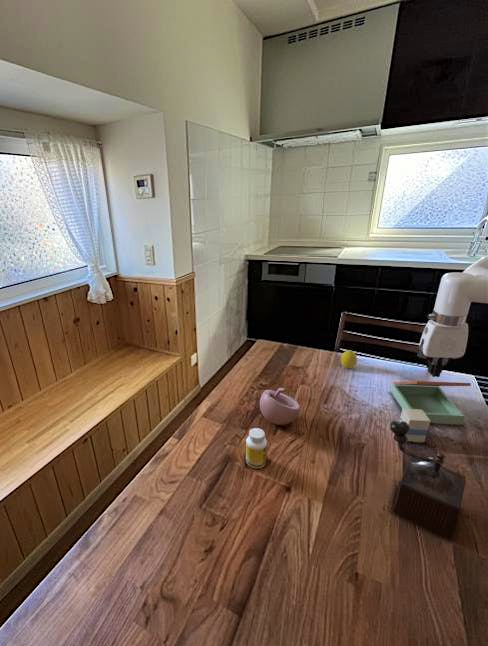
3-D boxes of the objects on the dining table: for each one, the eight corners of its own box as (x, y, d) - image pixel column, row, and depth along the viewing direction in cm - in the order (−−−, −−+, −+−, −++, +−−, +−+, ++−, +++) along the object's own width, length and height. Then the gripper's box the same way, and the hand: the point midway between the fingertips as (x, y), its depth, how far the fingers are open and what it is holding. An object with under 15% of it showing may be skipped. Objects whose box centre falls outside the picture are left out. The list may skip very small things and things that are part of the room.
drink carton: (416, 432, 97) (422, 409, 94) (424, 444, 92) (430, 421, 89) (396, 430, 98) (402, 408, 95) (403, 443, 93) (409, 420, 90)
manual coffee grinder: (456, 504, 75) (480, 442, 68) (449, 541, 68) (474, 477, 61) (380, 471, 85) (393, 414, 78) (367, 500, 78) (380, 440, 70)
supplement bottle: (266, 470, 88) (267, 441, 84) (245, 468, 89) (245, 439, 85) (266, 455, 93) (267, 426, 89) (246, 453, 94) (246, 425, 90)
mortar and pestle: (307, 424, 103) (310, 393, 98) (275, 438, 98) (277, 406, 94) (281, 404, 113) (282, 375, 108) (251, 416, 108) (252, 386, 104)
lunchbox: (461, 426, 98) (465, 416, 96) (409, 423, 100) (412, 413, 99) (435, 395, 112) (438, 386, 110) (391, 393, 114) (393, 384, 113)
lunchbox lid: (470, 385, 94) (470, 383, 94) (416, 383, 96) (416, 381, 96) (439, 386, 110) (438, 383, 110) (393, 384, 112) (393, 382, 112)
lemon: (341, 371, 129) (343, 353, 125) (338, 364, 134) (341, 346, 130) (356, 372, 127) (359, 354, 124) (353, 365, 132) (356, 347, 129)
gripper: (424, 323, 91) (411, 380, 99) (488, 323, 88) (469, 382, 96) (413, 313, 98) (401, 367, 106) (471, 312, 95) (455, 368, 103)
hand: (433, 374), depth 101 cm, fingers closed
